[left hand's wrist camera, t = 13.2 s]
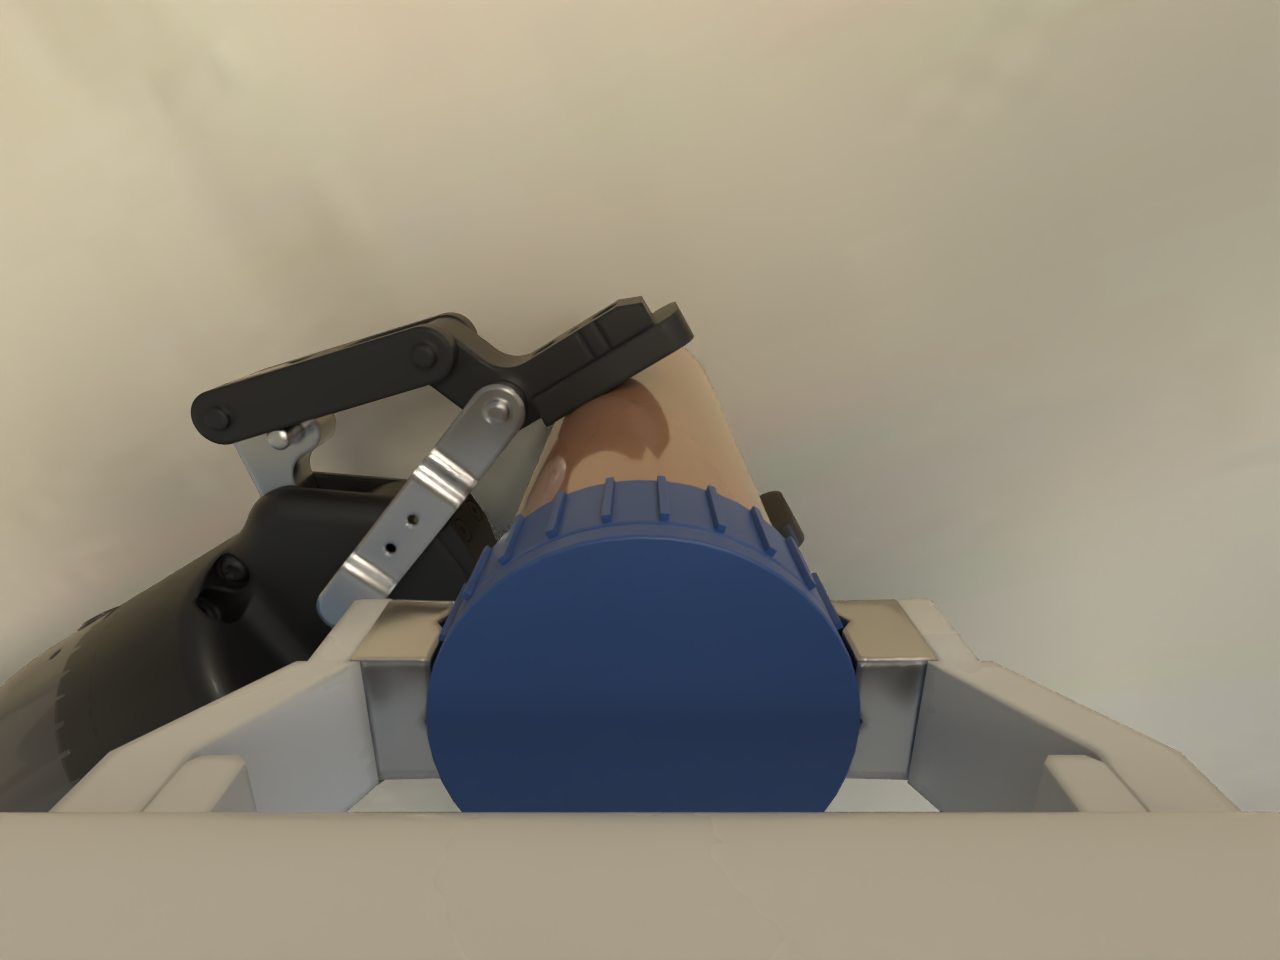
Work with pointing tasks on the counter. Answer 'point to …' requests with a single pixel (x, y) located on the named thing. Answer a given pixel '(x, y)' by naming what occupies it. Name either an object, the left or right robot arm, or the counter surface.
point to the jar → (646, 439)
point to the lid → (642, 663)
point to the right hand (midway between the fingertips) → (737, 421)
